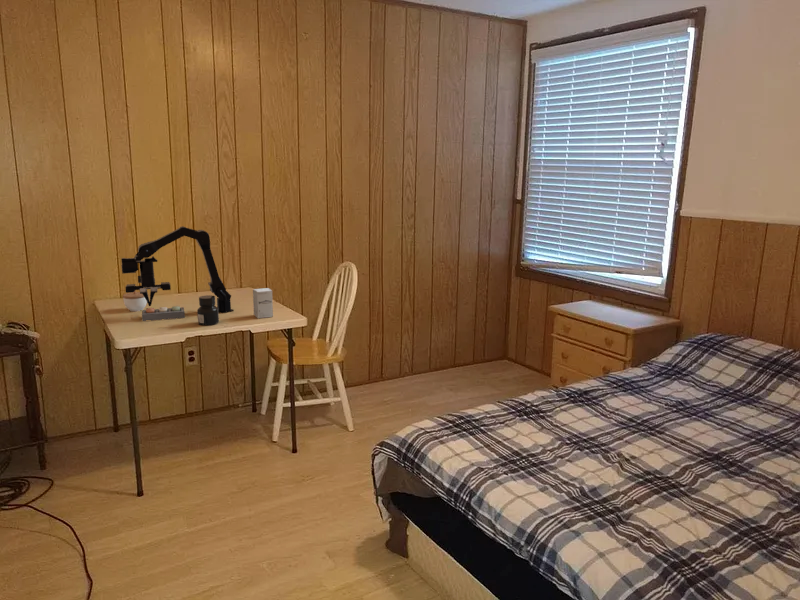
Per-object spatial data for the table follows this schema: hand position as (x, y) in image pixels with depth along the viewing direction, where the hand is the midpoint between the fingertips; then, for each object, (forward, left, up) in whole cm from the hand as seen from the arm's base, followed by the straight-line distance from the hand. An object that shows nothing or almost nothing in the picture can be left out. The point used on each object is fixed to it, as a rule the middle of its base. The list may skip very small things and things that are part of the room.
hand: (150, 305), depth 278 cm
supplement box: (-36, -36, -6) cm, 51 cm away
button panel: (-3, -5, -6) cm, 8 cm away
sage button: (-6, -9, -3) cm, 12 cm away
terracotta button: (0, 0, -3) cm, 3 cm away
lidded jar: (+20, -4, -6) cm, 21 cm away
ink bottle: (-28, -12, -6) cm, 31 cm away
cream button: (-3, -5, -3) cm, 6 cm away
